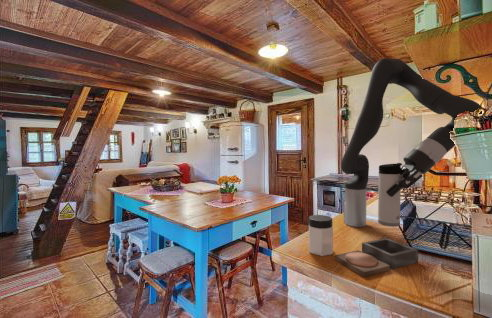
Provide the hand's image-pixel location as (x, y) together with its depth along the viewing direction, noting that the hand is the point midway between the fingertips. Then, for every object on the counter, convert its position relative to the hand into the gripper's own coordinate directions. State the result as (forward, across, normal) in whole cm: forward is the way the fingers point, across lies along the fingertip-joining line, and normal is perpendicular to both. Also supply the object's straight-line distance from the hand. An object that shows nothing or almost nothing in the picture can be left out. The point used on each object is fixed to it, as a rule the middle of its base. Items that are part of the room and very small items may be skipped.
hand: (384, 192), depth 81 cm
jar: (+30, -3, +2) cm, 30 cm away
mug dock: (+18, +3, +13) cm, 22 cm away
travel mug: (+6, 0, +9) cm, 11 cm away
